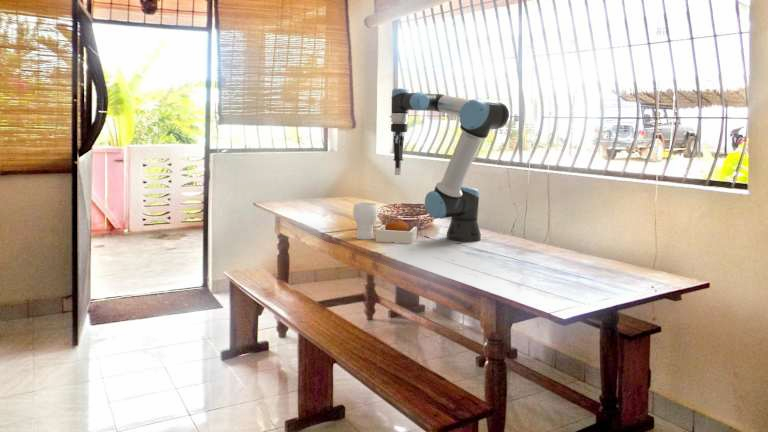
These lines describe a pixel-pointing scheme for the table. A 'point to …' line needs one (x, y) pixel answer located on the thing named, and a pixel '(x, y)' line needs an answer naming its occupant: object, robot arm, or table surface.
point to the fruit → (397, 226)
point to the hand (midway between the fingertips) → (397, 174)
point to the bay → (396, 234)
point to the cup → (365, 219)
